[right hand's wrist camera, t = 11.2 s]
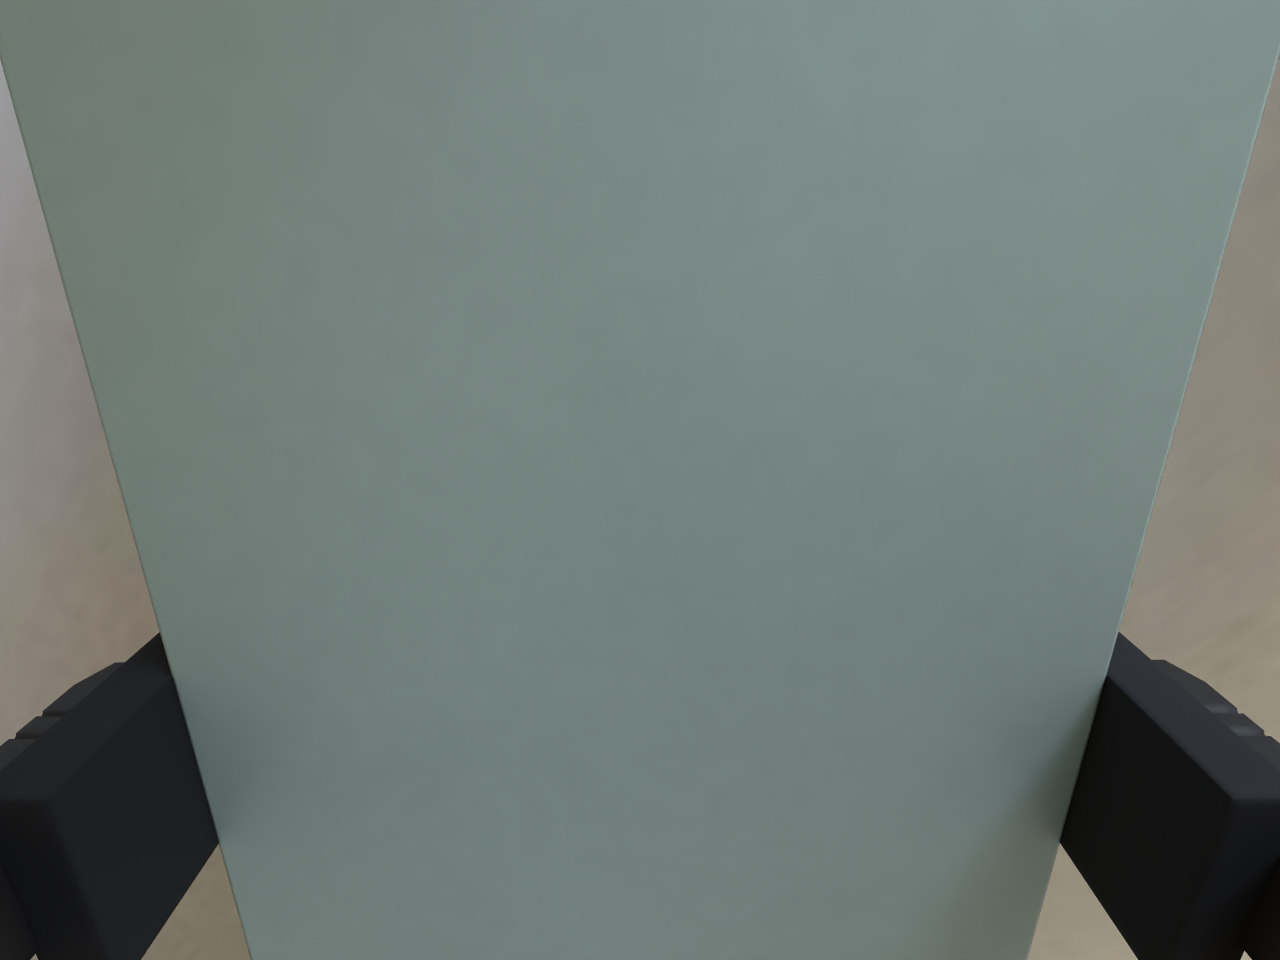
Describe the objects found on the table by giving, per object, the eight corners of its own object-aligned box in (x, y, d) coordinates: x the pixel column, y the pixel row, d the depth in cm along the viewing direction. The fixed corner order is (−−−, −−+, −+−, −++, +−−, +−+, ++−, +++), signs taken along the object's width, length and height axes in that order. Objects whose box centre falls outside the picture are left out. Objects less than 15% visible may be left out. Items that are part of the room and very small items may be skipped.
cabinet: (375, -38, 15) (-184, -581, 5) (903, -36, 15) (1461, -579, 5) (447, 621, 21) (262, 1010, 11) (830, 622, 21) (1015, 1010, 11)
